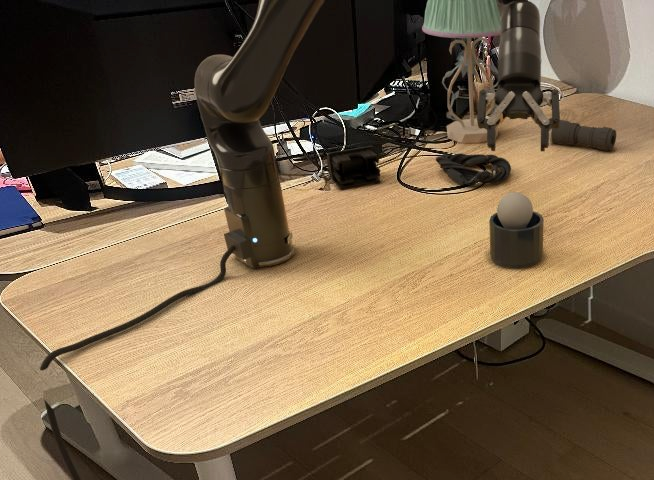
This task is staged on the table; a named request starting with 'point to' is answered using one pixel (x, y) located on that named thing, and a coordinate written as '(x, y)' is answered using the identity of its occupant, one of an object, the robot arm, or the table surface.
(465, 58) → the table lamp
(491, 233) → the pot
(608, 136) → the flashlight
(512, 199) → the lightbulb
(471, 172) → the cable
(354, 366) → the table surface
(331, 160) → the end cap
